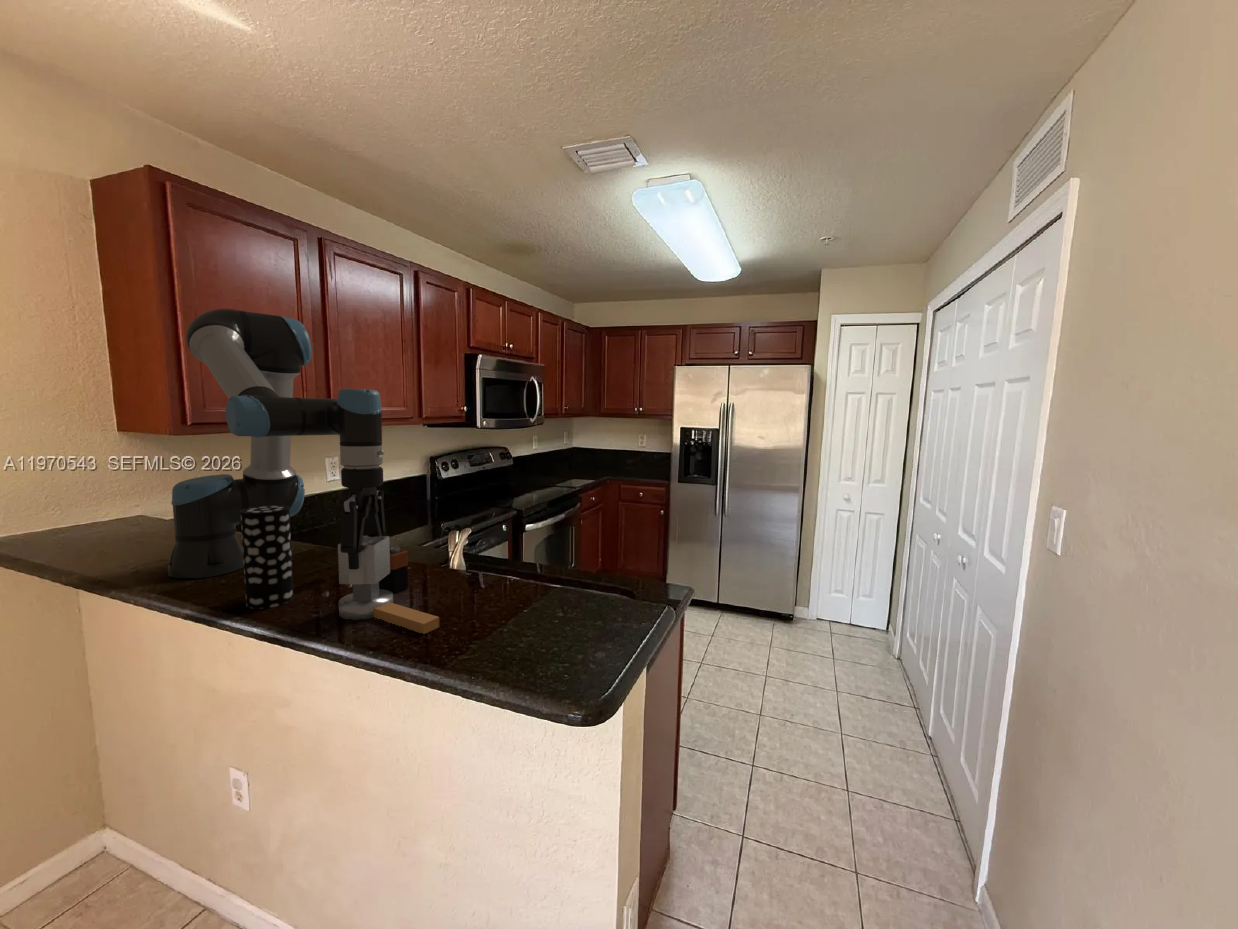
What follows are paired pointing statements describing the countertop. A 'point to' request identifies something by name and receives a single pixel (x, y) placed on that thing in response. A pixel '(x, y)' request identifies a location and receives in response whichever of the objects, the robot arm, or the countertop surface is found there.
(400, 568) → the battery
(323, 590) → the countertop surface
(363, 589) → the ratchet
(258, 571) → the white-spotted black cylinder
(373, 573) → the recessed metal cube
